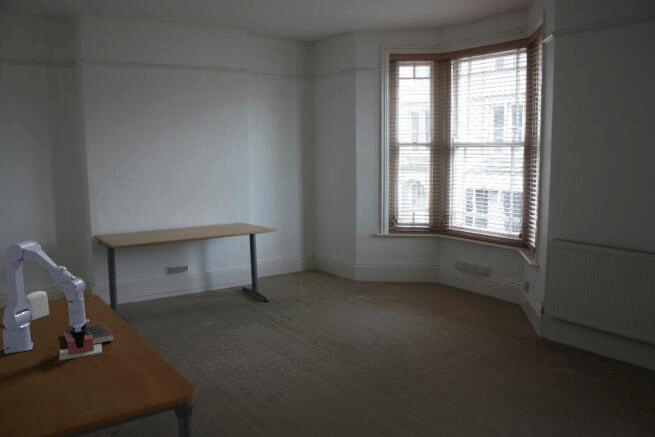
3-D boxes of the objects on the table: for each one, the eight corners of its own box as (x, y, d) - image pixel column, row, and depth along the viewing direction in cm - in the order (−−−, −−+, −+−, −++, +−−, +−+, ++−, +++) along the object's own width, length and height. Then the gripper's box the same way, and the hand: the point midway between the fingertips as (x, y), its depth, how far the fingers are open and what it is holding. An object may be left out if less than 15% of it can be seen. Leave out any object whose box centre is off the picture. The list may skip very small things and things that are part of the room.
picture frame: (64, 335, 242) (69, 349, 223) (63, 329, 241) (68, 342, 223) (105, 327, 250) (113, 340, 231) (105, 322, 249) (112, 334, 231)
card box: (93, 346, 224) (92, 334, 224) (93, 350, 220) (92, 338, 220) (68, 350, 221) (67, 338, 220) (68, 354, 217) (67, 342, 216)
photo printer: (31, 321, 262) (28, 295, 260) (25, 320, 264) (22, 294, 262) (51, 315, 271) (48, 289, 269) (45, 314, 273) (42, 288, 271)
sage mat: (59, 360, 213) (59, 358, 213) (60, 351, 223) (60, 349, 222) (102, 353, 219) (102, 351, 219) (101, 344, 228) (101, 343, 228)
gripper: (88, 313, 213) (91, 348, 215) (88, 304, 227) (91, 336, 229) (67, 316, 211) (71, 351, 213) (68, 306, 224) (72, 339, 226)
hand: (80, 344), depth 220 cm, fingers open, 7 cm apart
